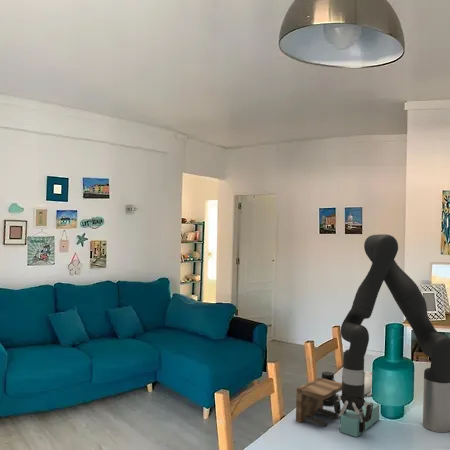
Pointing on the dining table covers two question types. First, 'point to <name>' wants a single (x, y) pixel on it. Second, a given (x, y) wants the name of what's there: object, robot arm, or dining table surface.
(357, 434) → the pale green long block
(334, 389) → the wall shelf
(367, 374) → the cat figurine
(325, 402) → the supplement bottle
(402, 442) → the dining table surface
